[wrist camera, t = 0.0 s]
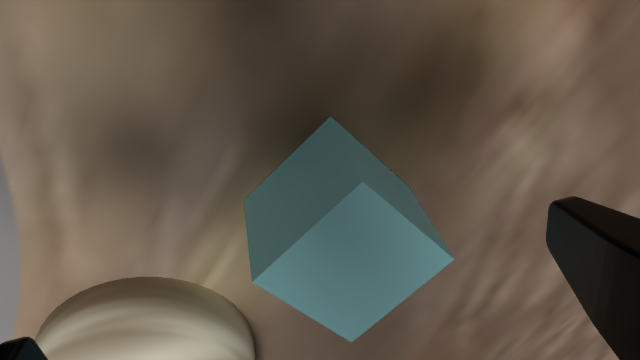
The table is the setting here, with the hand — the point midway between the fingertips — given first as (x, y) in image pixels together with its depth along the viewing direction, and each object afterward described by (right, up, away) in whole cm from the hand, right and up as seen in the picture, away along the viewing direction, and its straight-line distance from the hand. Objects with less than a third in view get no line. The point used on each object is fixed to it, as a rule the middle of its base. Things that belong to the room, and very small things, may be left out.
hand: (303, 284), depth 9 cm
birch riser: (-10, -8, +21) cm, 24 cm away
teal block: (+1, +1, +17) cm, 17 cm away
